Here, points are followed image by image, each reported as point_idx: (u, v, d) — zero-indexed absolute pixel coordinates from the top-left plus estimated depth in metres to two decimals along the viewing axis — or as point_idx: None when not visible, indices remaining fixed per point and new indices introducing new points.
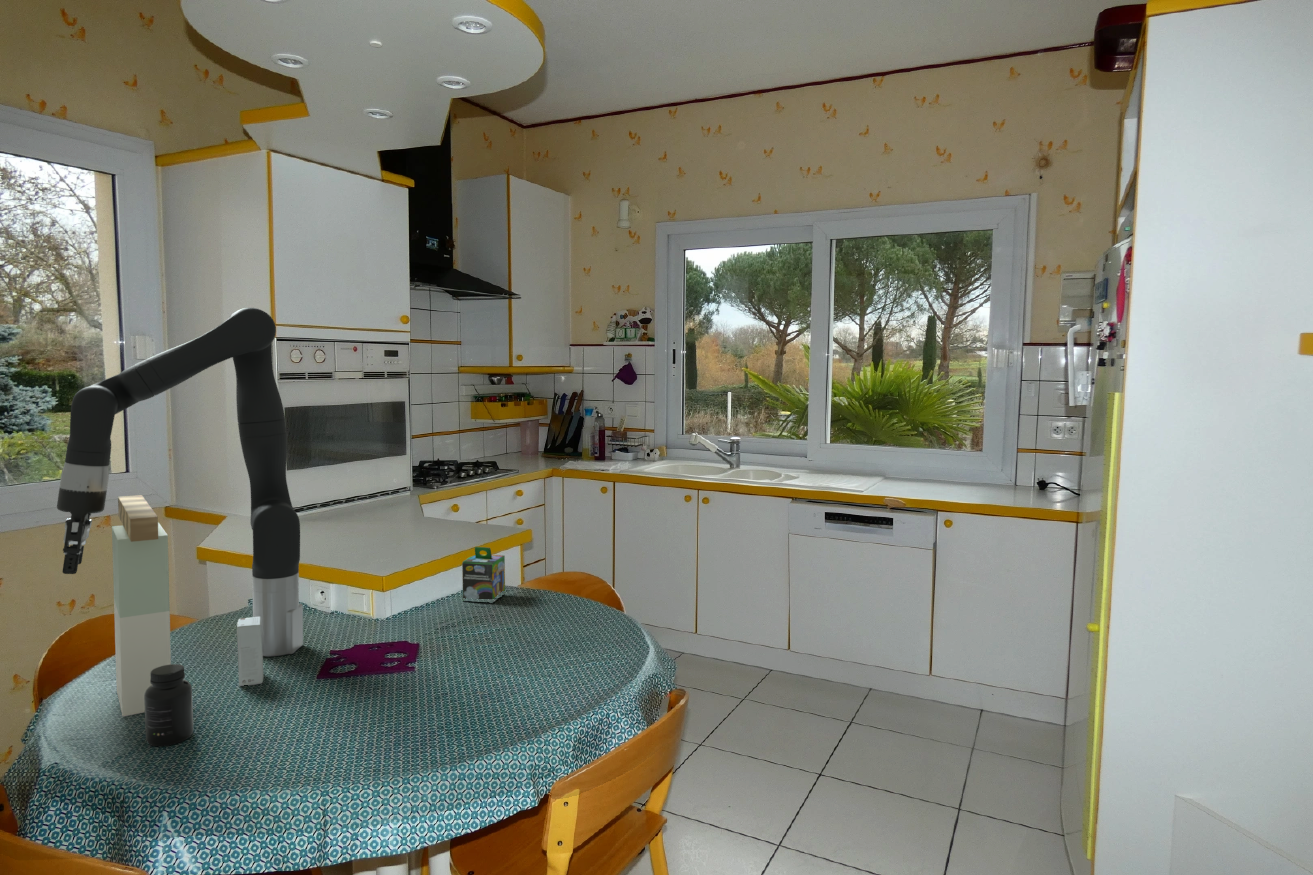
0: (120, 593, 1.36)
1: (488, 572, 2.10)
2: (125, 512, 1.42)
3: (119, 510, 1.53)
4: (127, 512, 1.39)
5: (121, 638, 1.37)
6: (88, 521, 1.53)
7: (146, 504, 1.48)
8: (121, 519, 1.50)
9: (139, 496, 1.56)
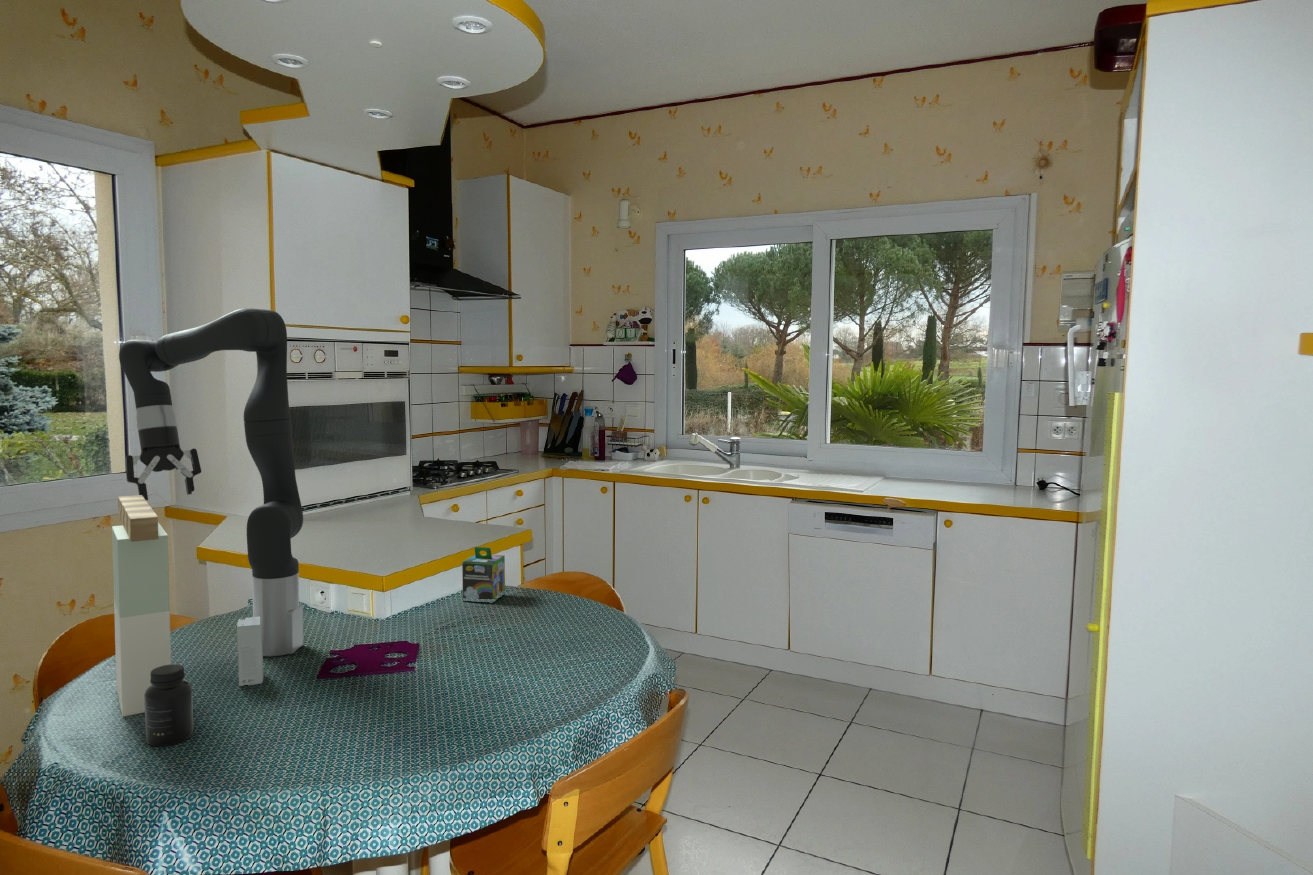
0: (120, 593, 1.36)
1: (488, 572, 2.10)
2: (125, 512, 1.42)
3: (119, 510, 1.53)
4: (127, 512, 1.39)
5: (121, 638, 1.37)
6: (166, 456, 1.75)
7: (146, 504, 1.48)
8: (121, 519, 1.50)
9: (139, 496, 1.56)
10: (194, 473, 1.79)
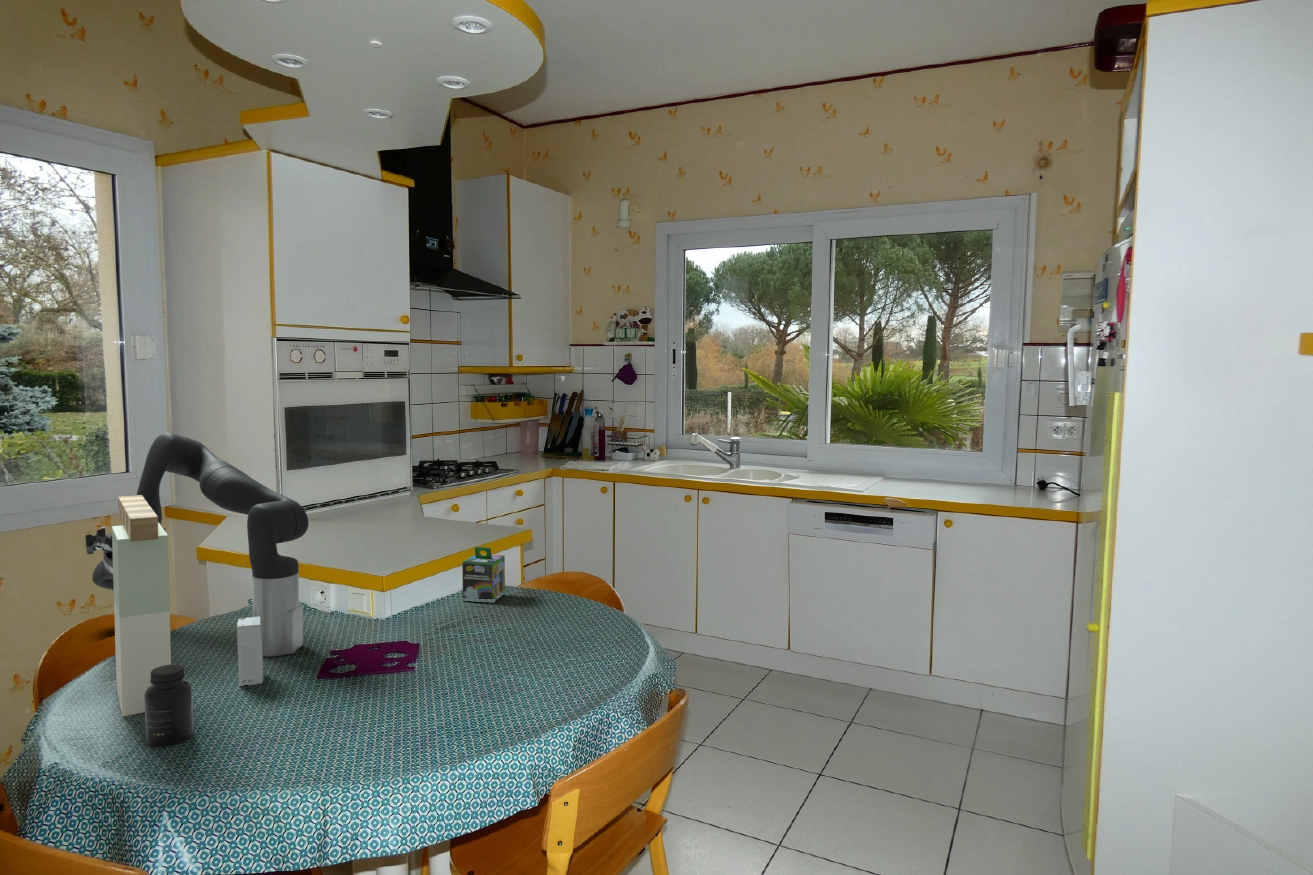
0: (120, 593, 1.36)
1: (488, 572, 2.10)
2: (125, 512, 1.42)
3: (119, 510, 1.53)
4: (127, 512, 1.39)
5: (121, 638, 1.37)
6: None
7: (146, 504, 1.48)
8: (121, 519, 1.50)
9: (139, 496, 1.56)
10: None
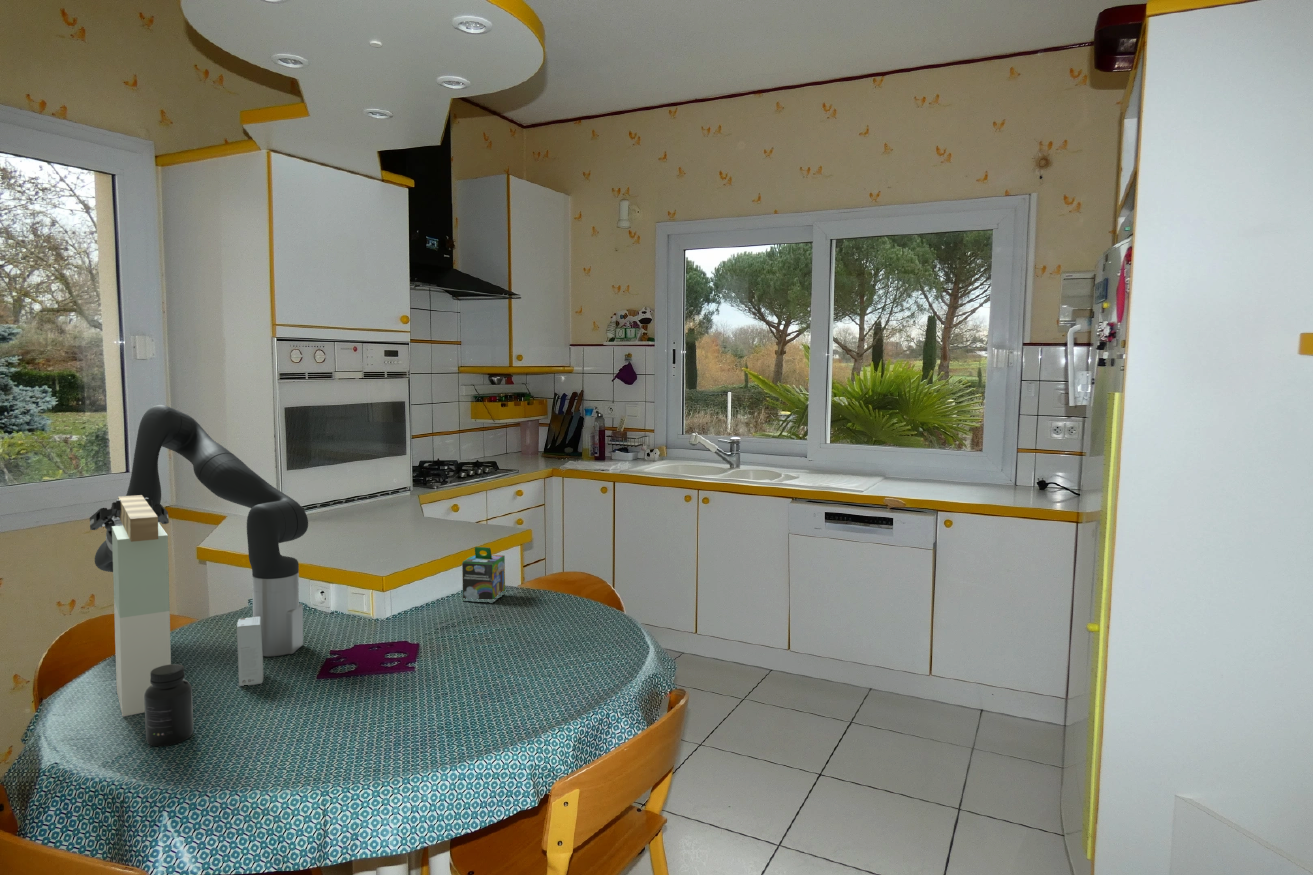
0: (120, 593, 1.36)
1: (488, 572, 2.10)
2: (125, 512, 1.42)
3: None
4: (127, 512, 1.39)
5: (121, 638, 1.37)
6: None
7: (146, 504, 1.48)
8: (121, 519, 1.50)
9: (139, 496, 1.56)
10: None
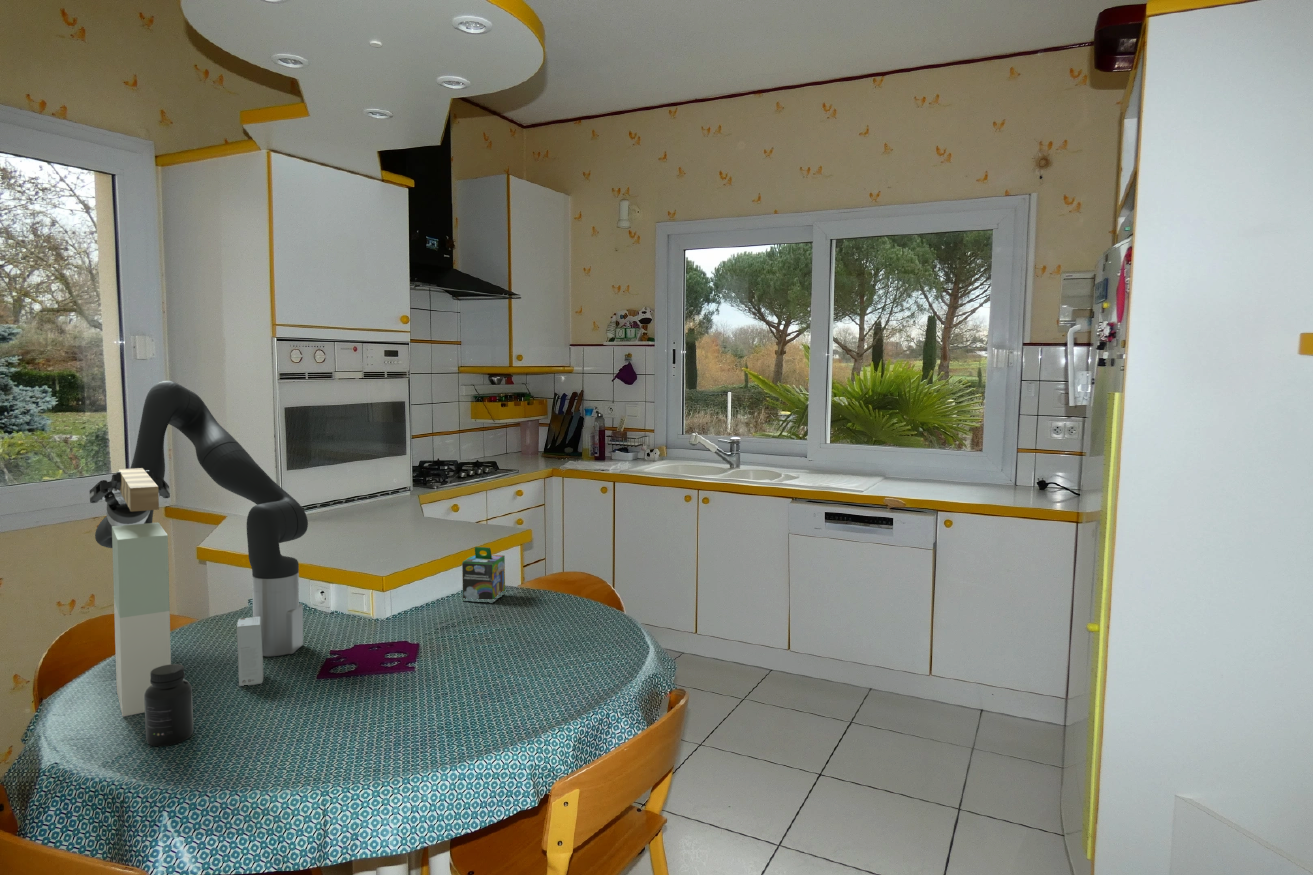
0: (120, 593, 1.36)
1: (488, 572, 2.10)
2: (125, 483, 1.39)
3: None
4: (127, 482, 1.36)
5: (121, 638, 1.37)
6: None
7: (147, 476, 1.45)
8: (121, 491, 1.47)
9: (140, 469, 1.53)
10: None
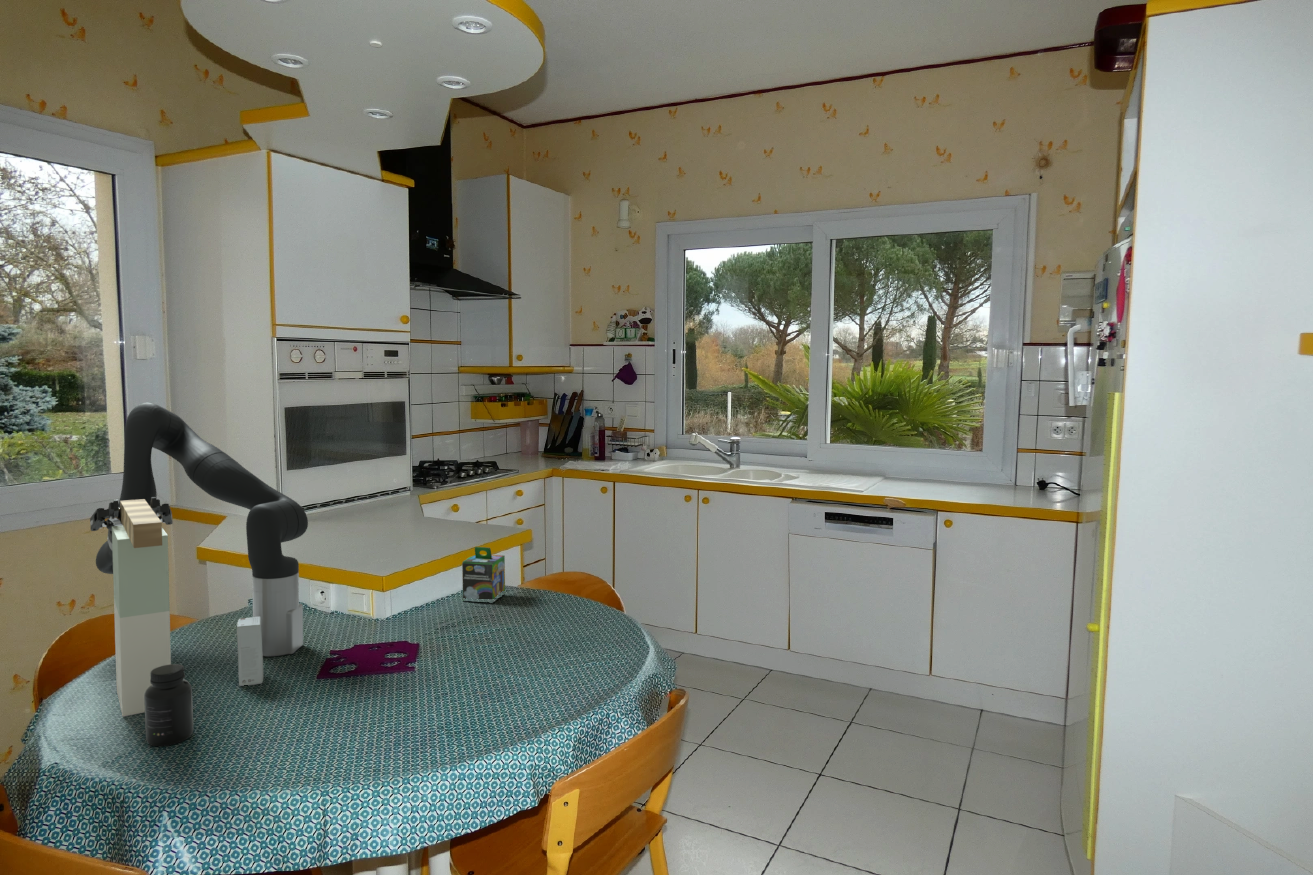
0: (120, 593, 1.36)
1: (488, 572, 2.10)
2: (128, 517, 1.37)
3: (121, 515, 1.49)
4: (130, 517, 1.35)
5: (121, 638, 1.37)
6: None
7: (149, 509, 1.43)
8: (123, 524, 1.45)
9: (142, 500, 1.52)
10: None
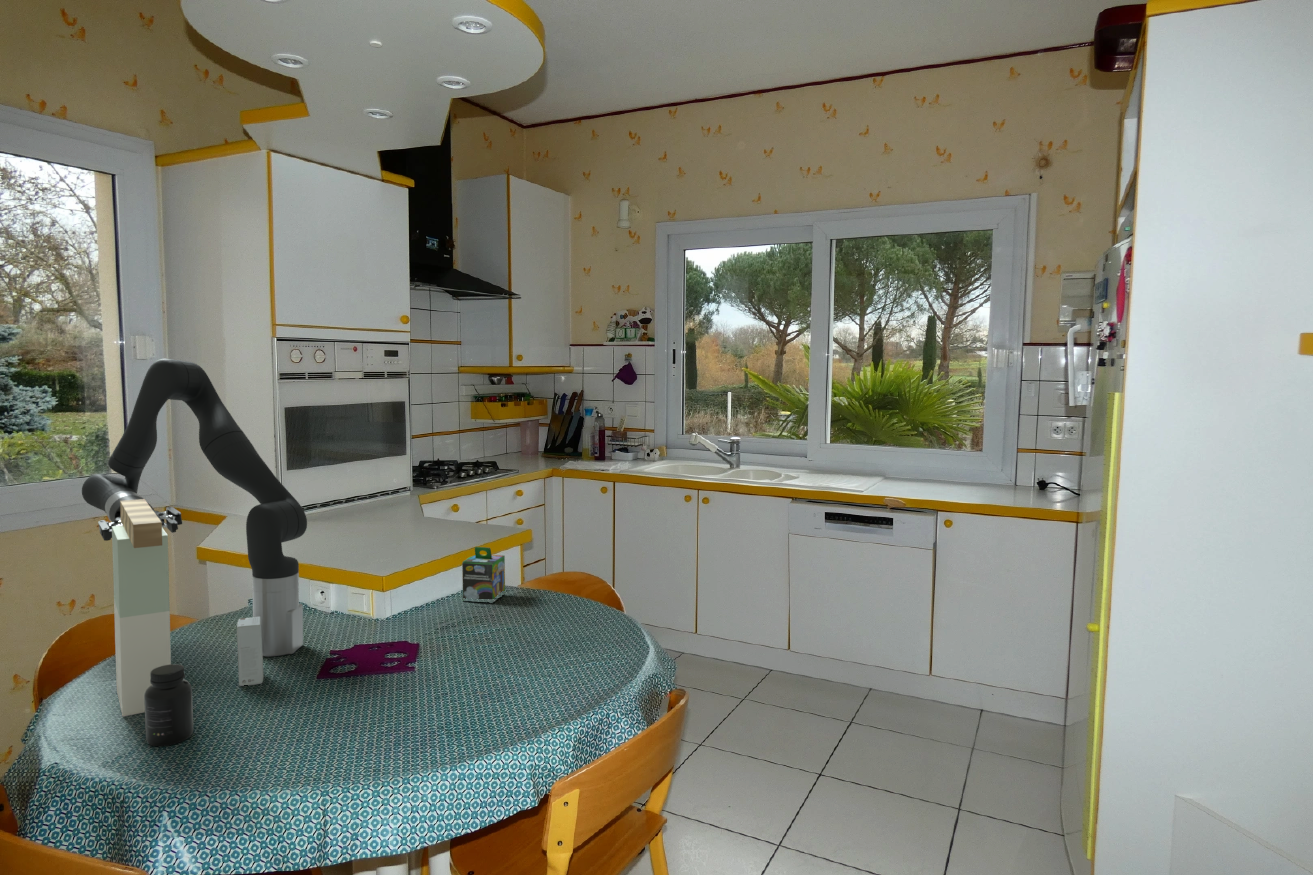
0: (120, 593, 1.36)
1: (488, 572, 2.10)
2: (128, 517, 1.37)
3: (121, 515, 1.49)
4: (130, 517, 1.35)
5: (121, 638, 1.37)
6: None
7: (149, 509, 1.43)
8: (123, 524, 1.45)
9: (142, 500, 1.52)
10: (174, 516, 1.66)
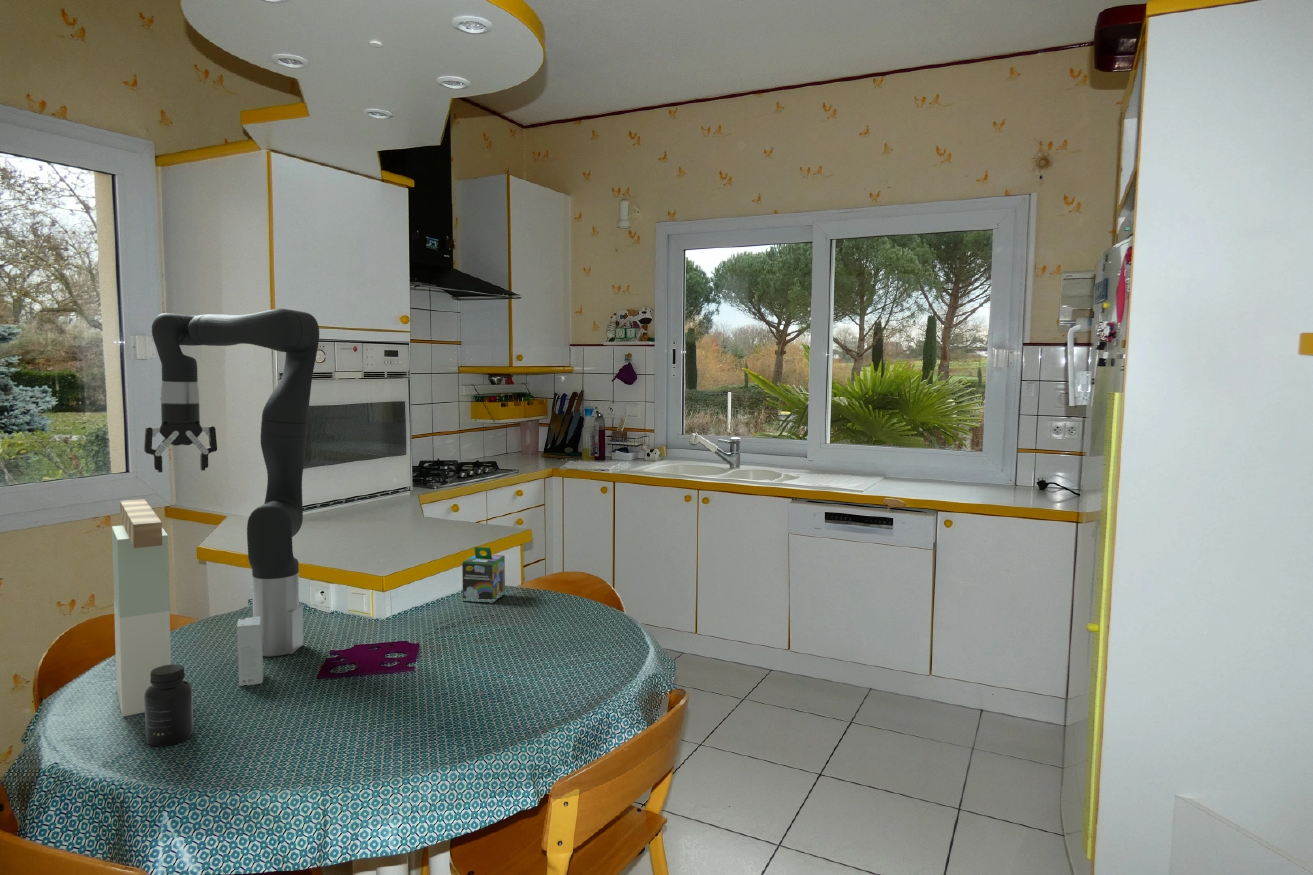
0: (120, 593, 1.36)
1: (488, 572, 2.10)
2: (128, 517, 1.37)
3: (121, 515, 1.49)
4: (130, 517, 1.35)
5: (121, 638, 1.37)
6: (185, 431, 1.78)
7: (149, 509, 1.43)
8: (123, 524, 1.45)
9: (142, 500, 1.52)
10: (210, 450, 1.82)
